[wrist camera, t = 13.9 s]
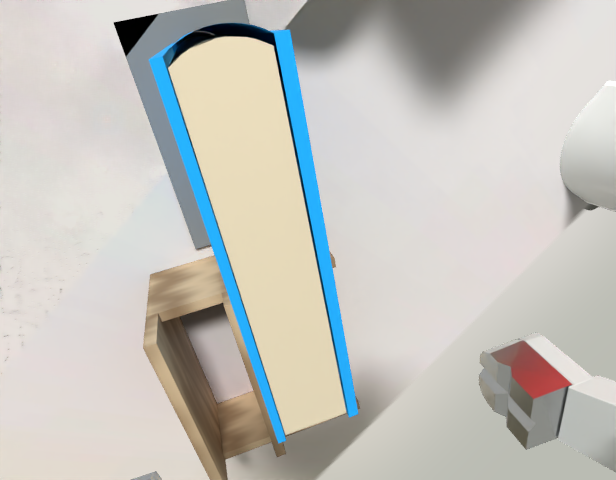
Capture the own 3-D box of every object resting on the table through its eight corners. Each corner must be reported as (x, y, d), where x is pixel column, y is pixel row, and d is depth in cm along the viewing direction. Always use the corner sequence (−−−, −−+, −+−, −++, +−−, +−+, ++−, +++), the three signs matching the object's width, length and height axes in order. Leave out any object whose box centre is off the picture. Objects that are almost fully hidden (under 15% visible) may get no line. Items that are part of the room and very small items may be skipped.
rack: (312, 226, 43) (350, 280, 34) (339, 366, 54) (374, 437, 44) (150, 274, 41) (143, 348, 31) (211, 412, 51) (219, 498, 42)
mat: (243, -3, 33) (243, -3, 32) (291, 219, 42) (292, 220, 42) (114, 22, 31) (113, 22, 31) (195, 247, 41) (195, 249, 40)
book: (265, 214, 41) (366, 415, 20) (223, 226, 40) (279, 448, 19) (217, 22, 33) (302, 6, 11) (163, 33, 32) (140, 38, 10)
